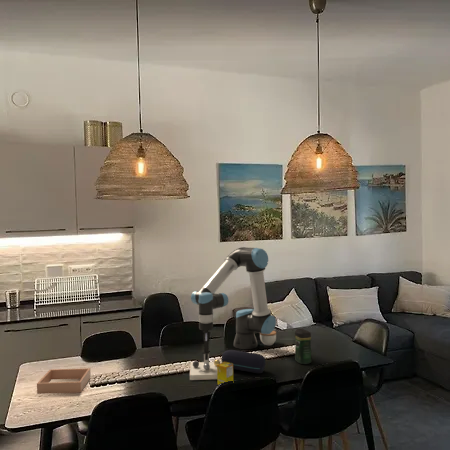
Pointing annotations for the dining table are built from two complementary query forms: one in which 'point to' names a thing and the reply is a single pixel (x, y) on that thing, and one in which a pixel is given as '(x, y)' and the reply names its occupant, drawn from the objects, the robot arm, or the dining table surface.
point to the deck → (203, 372)
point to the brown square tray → (63, 387)
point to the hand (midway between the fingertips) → (206, 365)
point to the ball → (206, 366)
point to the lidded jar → (268, 338)
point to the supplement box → (224, 372)
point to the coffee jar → (303, 346)
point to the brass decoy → (216, 362)
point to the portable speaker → (244, 361)
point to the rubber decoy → (195, 363)
